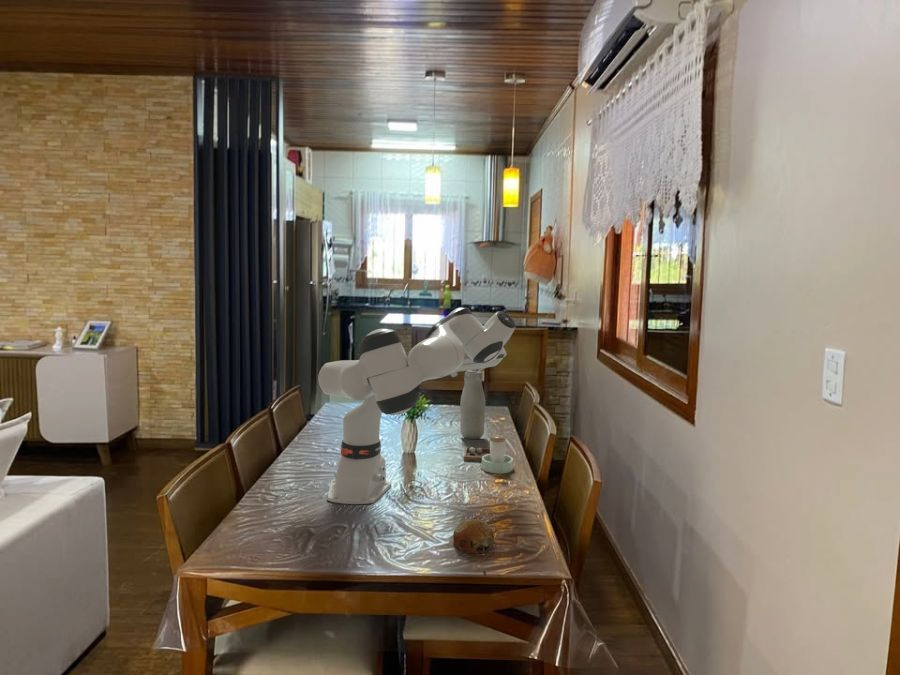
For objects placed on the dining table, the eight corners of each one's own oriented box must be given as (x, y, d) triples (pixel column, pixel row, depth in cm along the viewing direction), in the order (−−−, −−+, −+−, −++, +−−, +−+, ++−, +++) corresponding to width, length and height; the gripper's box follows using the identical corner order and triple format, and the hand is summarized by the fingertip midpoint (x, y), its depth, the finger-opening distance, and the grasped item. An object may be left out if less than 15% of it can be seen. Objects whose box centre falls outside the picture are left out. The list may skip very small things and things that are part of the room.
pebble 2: (482, 454, 219) (482, 448, 219) (476, 454, 220) (476, 448, 219) (482, 452, 222) (482, 447, 221) (476, 452, 222) (476, 446, 222)
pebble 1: (475, 455, 219) (475, 448, 219) (468, 454, 219) (468, 448, 219) (475, 453, 221) (475, 446, 221) (468, 452, 221) (469, 446, 221)
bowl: (512, 476, 200) (513, 464, 199) (481, 475, 201) (481, 462, 200) (512, 466, 210) (512, 454, 210) (481, 465, 211) (482, 453, 210)
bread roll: (491, 553, 154) (491, 519, 157) (497, 554, 144) (496, 518, 147) (452, 553, 154) (452, 519, 156) (454, 553, 144) (454, 518, 146)
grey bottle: (483, 435, 248) (485, 367, 245) (484, 443, 238) (486, 372, 234) (459, 435, 248) (461, 367, 245) (459, 442, 238) (461, 371, 235)
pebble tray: (492, 465, 211) (492, 458, 211) (463, 463, 212) (464, 456, 212) (492, 455, 222) (493, 448, 222) (465, 454, 223) (465, 447, 223)
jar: (504, 471, 202) (505, 439, 201) (488, 470, 203) (489, 438, 202) (504, 466, 208) (505, 435, 206) (489, 465, 208) (490, 434, 207)
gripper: (461, 360, 189) (442, 385, 198) (510, 354, 201) (491, 377, 210) (452, 344, 192) (435, 369, 201) (502, 339, 204) (483, 362, 213)
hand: (464, 373), depth 206 cm, fingers open, 8 cm apart
